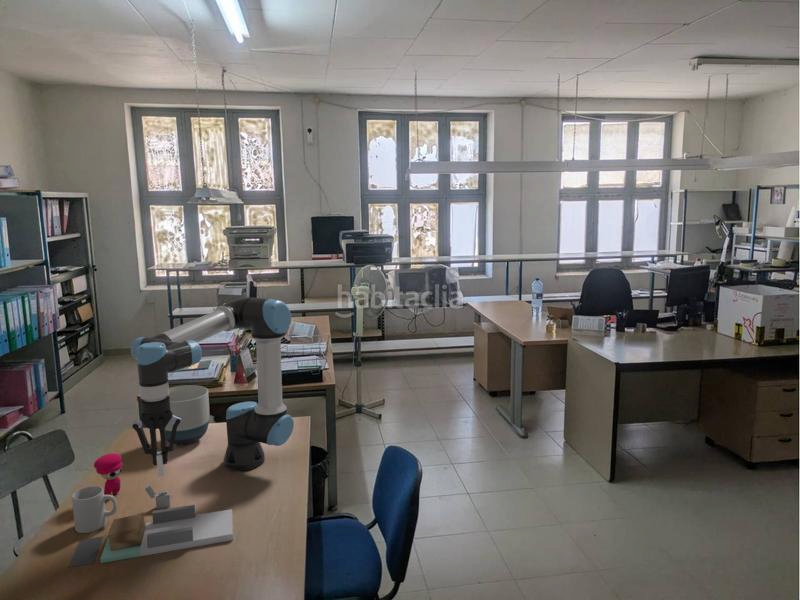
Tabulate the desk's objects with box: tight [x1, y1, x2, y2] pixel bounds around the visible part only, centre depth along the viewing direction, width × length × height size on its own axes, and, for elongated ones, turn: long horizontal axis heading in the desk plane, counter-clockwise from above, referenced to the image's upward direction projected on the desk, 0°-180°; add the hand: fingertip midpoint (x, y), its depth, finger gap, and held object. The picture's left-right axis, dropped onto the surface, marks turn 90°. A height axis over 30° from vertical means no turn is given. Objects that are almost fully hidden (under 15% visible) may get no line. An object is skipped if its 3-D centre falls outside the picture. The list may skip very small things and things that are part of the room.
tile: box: [100, 524, 146, 564], centre depth 158 cm, size 10×14×1 cm
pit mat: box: [67, 536, 104, 569], centre depth 155 cm, size 6×13×1 cm, turn 18°
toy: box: [93, 452, 123, 496], centre depth 183 cm, size 8×8×15 cm
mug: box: [71, 485, 118, 534], centre depth 168 cm, size 12×8×11 cm
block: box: [107, 512, 146, 551], centre depth 158 cm, size 8×8×5 cm
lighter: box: [144, 484, 171, 510], centre depth 178 cm, size 7×2×8 cm, turn 106°
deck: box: [139, 504, 234, 557], centre depth 163 cm, size 25×14×6 cm, turn 108°
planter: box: [158, 384, 210, 446], centre depth 226 cm, size 20×20×21 cm
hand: (161, 474), depth 158 cm, fingers closed
